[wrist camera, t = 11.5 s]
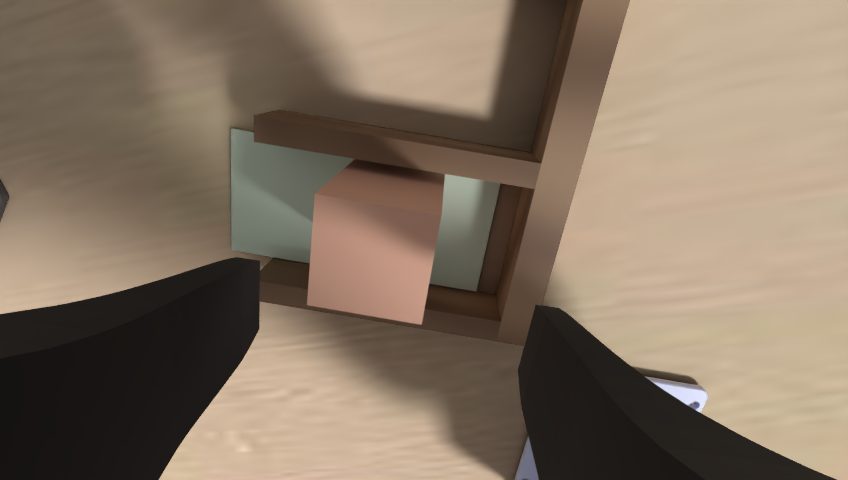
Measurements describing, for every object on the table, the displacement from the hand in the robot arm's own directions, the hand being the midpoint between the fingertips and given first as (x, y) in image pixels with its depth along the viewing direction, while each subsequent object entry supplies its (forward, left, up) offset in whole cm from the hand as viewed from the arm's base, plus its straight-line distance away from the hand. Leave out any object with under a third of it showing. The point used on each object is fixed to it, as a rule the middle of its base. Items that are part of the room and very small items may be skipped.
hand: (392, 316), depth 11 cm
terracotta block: (0, +1, -9) cm, 9 cm away
